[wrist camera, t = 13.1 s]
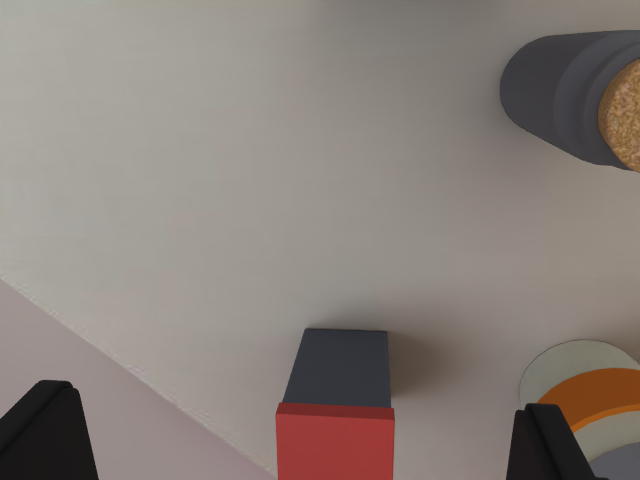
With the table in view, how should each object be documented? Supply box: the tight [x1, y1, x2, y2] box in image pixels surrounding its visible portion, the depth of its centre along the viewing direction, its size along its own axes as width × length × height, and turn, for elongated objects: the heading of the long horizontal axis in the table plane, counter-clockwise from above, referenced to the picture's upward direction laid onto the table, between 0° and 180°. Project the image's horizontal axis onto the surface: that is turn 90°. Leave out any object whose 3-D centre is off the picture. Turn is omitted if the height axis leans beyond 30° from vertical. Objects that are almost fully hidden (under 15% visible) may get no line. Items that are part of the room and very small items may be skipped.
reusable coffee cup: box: [519, 340, 640, 480], centre depth 32 cm, size 13×13×15 cm
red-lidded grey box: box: [276, 329, 395, 480], centre depth 35 cm, size 12×7×7 cm
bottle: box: [500, 30, 640, 173], centre depth 25 cm, size 6×6×15 cm
